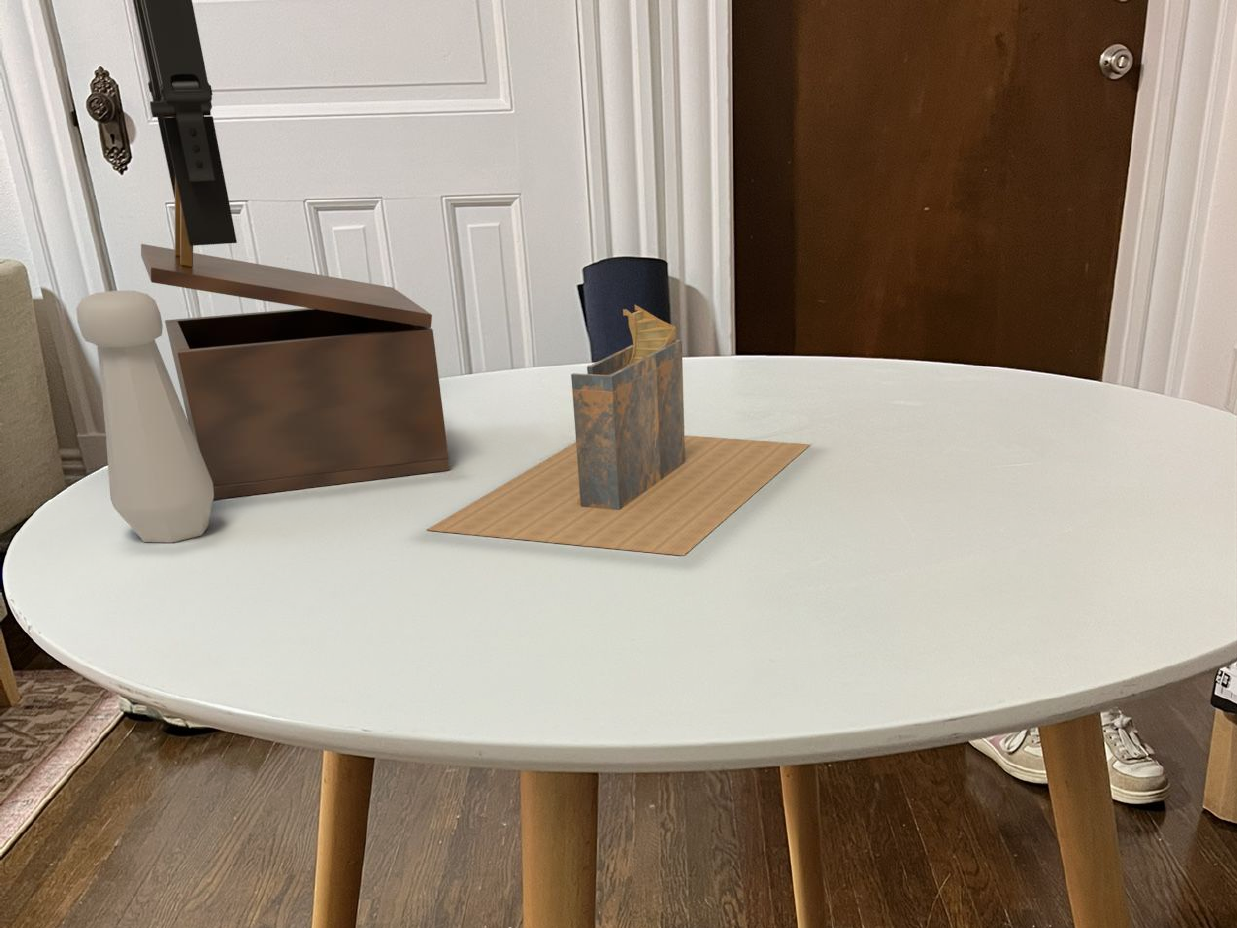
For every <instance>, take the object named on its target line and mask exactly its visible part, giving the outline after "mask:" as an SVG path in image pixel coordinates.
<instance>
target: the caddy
mask: <svg viewBox="0 0 1237 928" xmlns="http://www.w3.org/2000/svg"><path fill="white" fill-rule="evenodd" d="M164 324H165V328H166V332H167V336H168V341H169V344H170V345H169V346H170V350H171V355H172V358H173V362H174V366H175V371H176V376H177V379H178V384H179V389H180V392H181V397H182V401H183V406H184V410H185V415H186V418H187V420H188V423H189V425H190V428H191V430H192V433H193V435H194V438H195V440H196V442H197V445H198V447H199V450H200V452H201V455H202V457H203V460H204V462H205V465H206V467H207V470H208V472H209V474H210V477H211V479H212V482H213V490H214V498H213V501H214V500H221V499H229V498H230V499H231V498H237V497H245V496H246V497H247V496H253V495H262V494H269V493H270V494H271V493H278V492H284V491H294V490H302V489H303V490H304V489H309V488H318V487H327V486H334V485H342V484H343V485H344V484H349V483H350V484H351V483H357V482H366V481H373V480H382V479H389V478H390V479H391V478H398V477H406V476H412V475H413V476H414V475H420V474H421V475H423V474H430V473H437V472H445V471H446V472H447V471H450V470H451V466H450V457H449V448H448V441H447V432H446V426H445V425H446V424H445V416H444V409H443V401H442V392H441V385H440V378H439V377H440V375H439V370H438V369H439V368H438V361H437V353H436V346H435V344H436V343H435V338H434V330H433V328H432V327H431V328H428V327H422V326H416V325H410V324H403V323H397V322H391V321H385V320H379V319H373V318H367V317H361V316H354V315H348V314H342V313H336V312H330V311H324V310H318V309H311V308H305V307H303V308H295V309H281V310H270V311H260V312H259V311H258V312H257V311H256V312H246V313H245V312H244V313H235V314H222V315H213V316H211V315H210V316H200V317H186V318H175V319H165V320H164Z"/></svg>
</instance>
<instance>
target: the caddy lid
mask: <svg viewBox="0 0 1237 928" xmlns="http://www.w3.org/2000/svg"><path fill="white" fill-rule="evenodd" d="M165 118H173V117H165ZM140 257H141V260H142V262H143V265H144V267H145V270H146V272H147V275H148V277H149V280H150V282H151V283H152V284H159V285H164V286H165V285H166V286H169V287H170V286H172V287H178V288H184V289H190V290H197V291H203V292H207V293H208V292H209V293H215V294H220V295H227V296H232V297H239V298H245V299H250V300H258V301H263V302H270V303H276V304H281V305H287V306H293V307H300V308H311V309H318V310H324V311H330V312H336V313H342V314H348V315H354V316H361V317H367V318H373V319H379V320H385V321H391V322H397V323H403V324H410V325H416V326H422V327H428V328H431V329H432V321H433V314H431V312H429V311H427V310H426V309H425V308H423V307H421V306H420V305H419V304H417V303H416V302H415V301H414V300H412V299H410V298H408V297H407V296H406V295H405V294H403V293H401V291H399V290H397V289H396V288H394V287H391V286H387V285H380V284H375V283H369V282H364V281H357V280H352V279H351V280H350V279H346V278H341V277H334V276H328V275H323V274H317V273H311V272H306V271H301V270H294V269H289V268H283V267H278V266H271V265H266V264H260V263H254V262H248V261H243V260H237V259H231V258H225V257H220V256H214V255H208V254H203V253H198V252H197V253H196V252H194V246H190V244H189V240H188V235H187V230H186V225H185V220H184V216H183V211H182V206H181V201H180V197H179V192H178V187H177V182H176V178H175V198H174V249H172V248H168V247H162V246H156V245H151V244H145V243H141V244H140Z"/></svg>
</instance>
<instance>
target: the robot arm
mask: <svg viewBox="0 0 1237 928" xmlns="http://www.w3.org/2000/svg"><path fill="white" fill-rule="evenodd" d="M132 4H133V8H134V13H135V19H136V23H137V27H138V33H139V37H140V43H141V46H142V52H143V57H144V61H145V66H146V70H147V75H148V82H147V86H148V91H149V93H150V94H151V97H152V98H151V99H152V101H149V107H150V111H151V116H152V118H156V119H157V122H158V127H159V132H160V137H161V141H162V146H163V151H164V155H165V160H166V165H167V170H168V175H169V180H170V184H171V188H172V192H173V199H175V178H176V182H177V187H178V192H179V197H180V201H181V206H182V211H183V216H184V220H185V225H186V230H187V235H188V240H189V244H190V246H193V247H195V246H211V245H225V244H237V243H238V242H237V240H238V239H237V235H236V231H235V225H234V220H233V215H232V209H231V205H230V204H231V203H230V200H229V194H228V190H227V183H226V179H225V172H224V168H223V163H222V157H221V152H220V146H219V142H218V136H217V131H216V126H215V121H214V116H212V112H211V111H212V109H213V104H212V100H213V88H212V86H211V84H210V83H209V80H208V75H207V70H206V66H205V60H204V56H203V49H202V44H201V39H200V34H199V29H198V24H197V19H196V14H195V9H194V4H193V0H132ZM165 117H173V118H165Z"/></svg>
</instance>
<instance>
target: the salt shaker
mask: <svg viewBox="0 0 1237 928" xmlns="http://www.w3.org/2000/svg"><path fill="white" fill-rule="evenodd" d="M75 311H76V319H77V324H78V325H77V326H78V327H79V330H80V333H81V334H80V335H81V336H82V338H83V339H84V341H85V342H87V343H90V344H93V345H95V346H96V347H97V354H98V356H97V357H98V366H99V368H98V369H99V379H100V387H101V400H102V410H103V420H104V421H103V422H104V431H105V442H106V457H107V458H106V459H107V473H108V485H109V499H110V501H111V504H112V506H113V508H114V510H115V511H116V512H117V513H118V514H119V515H120V516H121V518H122V519H123V520H124V521H125V522H126V524H128V526H129V527H130V528H131V529H132V530H133V532H135V533H136V535H137V536H138V537H139V539H140V540H141V541H142V542H143V543H167V544H168V543H169V544H170V543H171V544H173V543H177V542H181V541H185V540H189V539H194V538H197V537H200V536H203V534H204V533H205V532H206V530H207V529H208V527H209V524H210V518H211V511H212V505H213V502H214V500H213V498H214V490H213V482H212V479H211V477H210V474H209V472H208V470H207V467H206V465H205V462H204V460H203V457H202V455H201V452H200V450H199V447H198V445H197V442H196V440H195V438H194V435H193V433H192V430H191V428H190V425H189V423H188V419H187V415H186V412H185V411H184V410H185V409H184V408H183V406H182V404H181V401H180V398H179V396H178V393H177V391H176V388H175V386H174V384H173V381H172V378H171V376H170V374H169V371H168V369H167V366H166V364H165V361H164V359H163V356H162V354H161V351H160V349H159V347H158V344H157V342H156V339H158V338H160V337H162V336H163V327H164V326H163V321H162V320H163V319H162V314H161V312H160V309H159V306H158V304H157V301H156V300H155V299H154V298H153V297H152V296H150V295H149V294H148V293H144V292H140V291H136V290H110V291H102V292H101V291H100V292H96V293H92V294H89V295H87V296H86V297H82V298H81V299H80V301H79V303H78V305H77V306H76V310H75Z"/></svg>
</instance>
